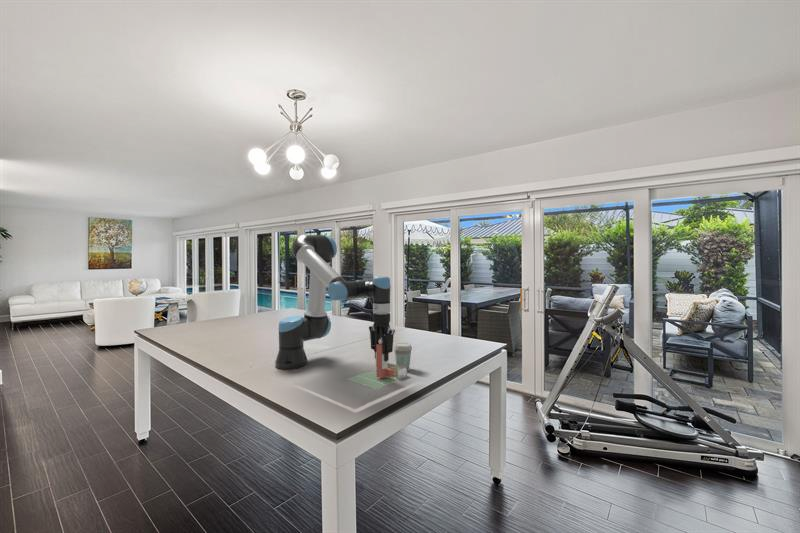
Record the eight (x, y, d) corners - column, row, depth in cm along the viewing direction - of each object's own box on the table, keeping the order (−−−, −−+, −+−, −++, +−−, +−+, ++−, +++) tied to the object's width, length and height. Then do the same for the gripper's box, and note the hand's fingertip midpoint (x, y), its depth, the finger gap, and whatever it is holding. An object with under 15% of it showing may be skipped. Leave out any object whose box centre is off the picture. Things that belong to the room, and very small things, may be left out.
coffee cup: (390, 369, 165) (390, 344, 164) (402, 365, 171) (402, 341, 171) (403, 374, 159) (403, 348, 159) (415, 369, 165) (415, 344, 165)
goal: (377, 376, 156) (377, 365, 156) (386, 372, 161) (386, 361, 161) (398, 382, 148) (398, 370, 148) (406, 378, 153) (406, 367, 153)
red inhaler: (373, 375, 151) (373, 337, 150) (380, 372, 154) (380, 335, 154) (385, 379, 146) (384, 340, 145) (392, 376, 150) (392, 338, 149)
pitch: (346, 381, 149) (346, 379, 149) (369, 373, 159) (369, 370, 159) (376, 392, 137) (376, 389, 137) (399, 382, 148) (399, 380, 148)
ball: (391, 375, 157) (386, 377, 154) (391, 368, 157) (386, 370, 154) (397, 377, 154) (392, 379, 152) (397, 369, 154) (392, 371, 152)
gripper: (362, 311, 151) (362, 365, 152) (389, 316, 140) (389, 373, 141) (374, 309, 157) (374, 361, 157) (401, 313, 146) (401, 369, 147)
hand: (381, 367), depth 149 cm, fingers closed on red inhaler, 3 cm apart
